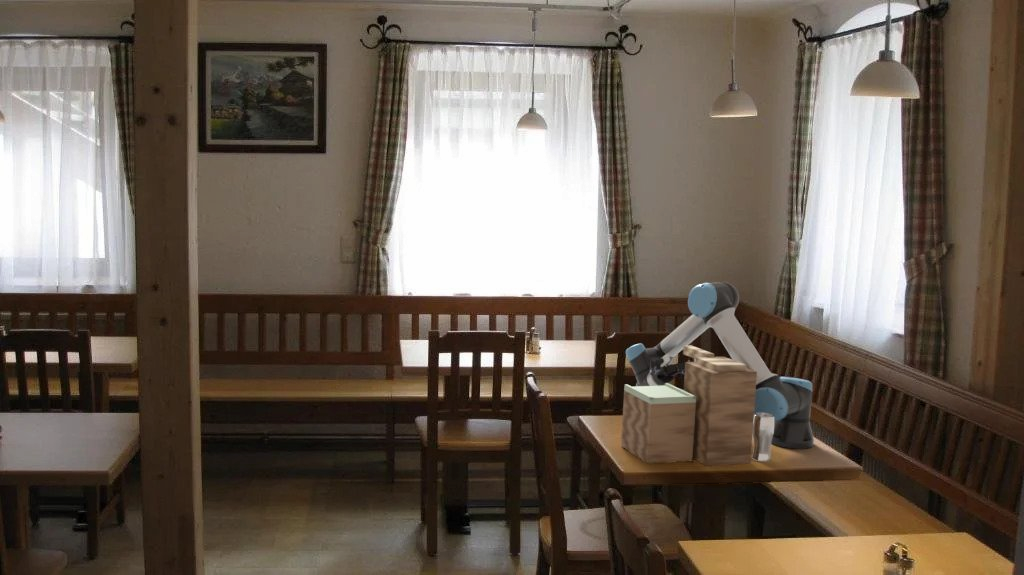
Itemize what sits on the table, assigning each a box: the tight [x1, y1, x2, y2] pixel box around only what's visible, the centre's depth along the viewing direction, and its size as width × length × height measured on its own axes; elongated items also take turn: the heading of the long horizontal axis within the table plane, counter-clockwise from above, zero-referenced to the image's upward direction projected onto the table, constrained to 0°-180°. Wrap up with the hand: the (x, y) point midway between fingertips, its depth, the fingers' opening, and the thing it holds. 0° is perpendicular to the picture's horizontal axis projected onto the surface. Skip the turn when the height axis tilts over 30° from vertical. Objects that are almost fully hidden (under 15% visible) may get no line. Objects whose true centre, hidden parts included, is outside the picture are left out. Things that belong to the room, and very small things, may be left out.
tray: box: [623, 383, 696, 404], centre depth 333 cm, size 20×16×2 cm
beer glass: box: [751, 412, 775, 463], centre depth 333 cm, size 7×7×15 cm
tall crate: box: [683, 361, 757, 467], centre depth 333 cm, size 18×16×30 cm
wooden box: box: [620, 389, 696, 464], centre depth 334 cm, size 20×16×19 cm
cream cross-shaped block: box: [682, 344, 746, 372], centre depth 338 cm, size 30×10×3 cm, turn 18°
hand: (686, 356), depth 352 cm, fingers open, 13 cm apart
